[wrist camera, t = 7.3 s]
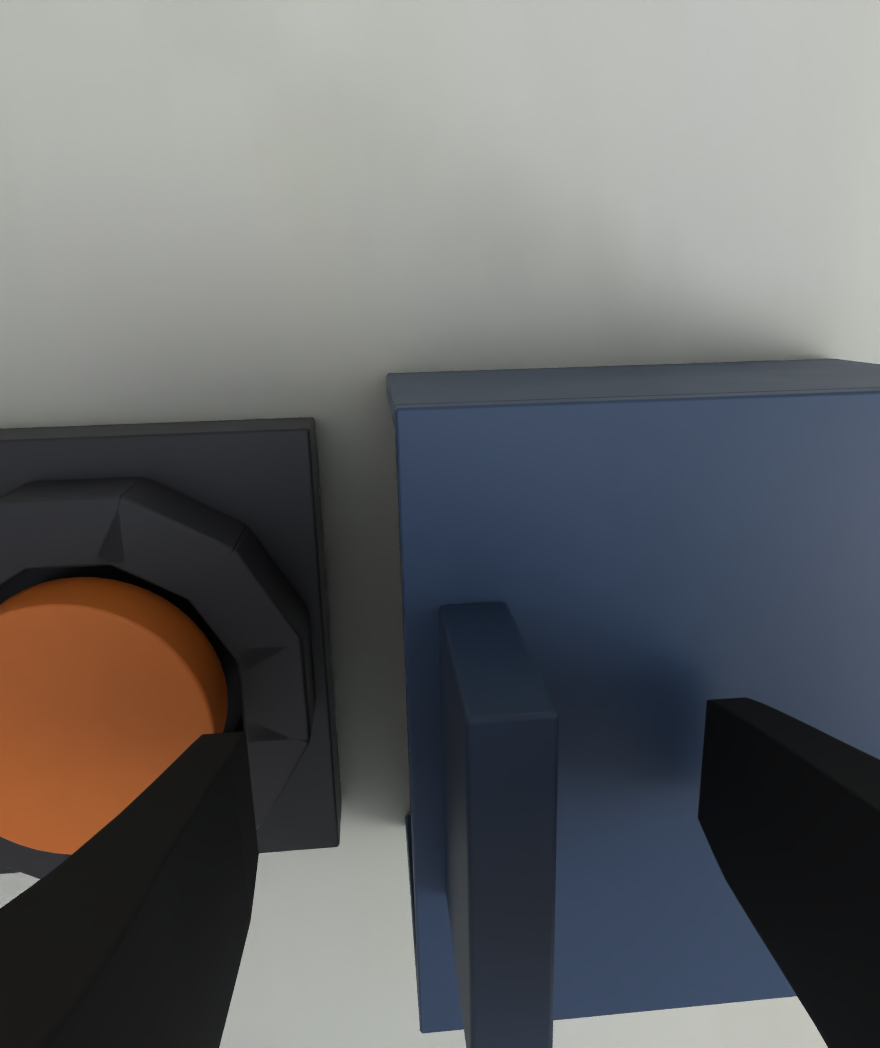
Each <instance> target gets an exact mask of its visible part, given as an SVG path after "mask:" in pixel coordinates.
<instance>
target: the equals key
mask: <svg viewBox="0 0 880 1048" xmlns="http://www.w3.org/2000/svg"><path fill="white" fill-rule="evenodd" d="M227 709H228V693H227V685H226V680H225V675H224V672H223V669H222V666H221V663H220V660H219V658H218V656H217V654H216V652H215V650H214V648H213V646H212V645H211V643H210V642H209V640H208V639H207V637H206V636H205V634H204V633H203V632H202V630H201V629H200V628H199V627H198V626H197V625H196V624H195V623H194V622H193V620H192V619H191V618H189V617H188V616H187V615H186V614H185V613H184V612H183V611H181V610H180V609H179V608H178V607H176V606H175V605H173V604H172V603H170V602H169V601H167V600H166V599H164V598H163V597H161V596H159V595H157V594H155V593H153V592H151V591H149V590H146V589H144V588H141V587H138V586H136V585H133V584H130V583H126V582H122V581H118V580H114V579H106V578H98V577H72V578H63V579H56V580H52V581H48V582H44V583H40V584H38V585H35V586H32V587H30V588H27V589H24V590H23V591H21V592H19V593H17V594H15V595H13V596H12V597H10V598H8V599H7V600H6V601H4V602H3V603H2V604H0V837H2V838H5V839H7V840H9V841H12V842H14V843H16V844H19V845H22V846H26V847H29V848H32V849H36V850H40V851H46V852H51V853H58V854H71V855H72V854H73V853H74V852H75V851H77V850H78V849H79V848H80V847H81V846H82V845H84V844H85V843H86V842H87V841H88V840H89V839H91V838H92V837H93V836H94V835H95V834H96V833H98V832H99V831H100V830H101V829H102V828H103V827H105V826H106V825H107V824H108V823H109V822H110V821H112V820H113V819H114V818H115V817H116V816H117V815H119V814H120V813H121V812H122V811H123V810H124V809H125V808H126V807H127V806H128V805H129V804H130V803H131V802H132V801H134V800H135V799H136V798H137V797H138V796H139V795H140V794H141V793H142V792H143V791H144V790H145V789H146V788H147V787H148V786H149V785H150V784H151V783H153V782H154V781H155V780H156V779H157V778H158V777H159V776H160V775H161V774H162V773H163V772H164V771H165V770H166V769H167V768H168V767H169V766H170V765H171V764H172V763H173V762H174V761H175V760H176V759H177V758H178V757H179V756H180V755H181V754H182V753H183V752H184V751H185V750H186V749H187V748H188V747H189V746H190V745H191V744H192V743H193V742H194V741H195V740H197V739H198V738H199V737H200V736H201V735H202V734H213V733H223V730H224V726H225V723H226V718H227Z"/></svg>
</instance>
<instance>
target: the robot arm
mask: <svg viewBox="0 0 880 1048" xmlns="http://www.w3.org/2000/svg"><path fill="white" fill-rule="evenodd" d="M698 820H699V822H700V825H701V827H702V829H703V832H704V834H705V836H706V839H707V841H708V843H709V845H710V848H711V850H712V852H713V855H714V857H715V859H716V861H717V863H718V865H719V867H720V869H721V872H722V874H723V876H724V878H725V880H726V882H727V883H728V885H729V887H730V888H731V890H732V892H733V893H734V895H735V897H736V898H737V900H738V902H739V903H740V905H741V907H742V908H743V910H744V911H745V913H746V915H747V916H748V918H749V920H750V921H751V923H752V925H753V926H754V928H755V929H756V931H757V933H758V934H759V936H760V937H761V939H762V941H763V942H764V944H765V945H766V947H767V949H768V950H769V952H770V953H771V955H772V957H773V958H774V960H775V961H776V963H777V965H778V966H779V968H780V969H781V971H782V973H783V974H784V976H785V977H786V979H787V981H788V982H789V984H790V985H791V987H792V989H793V990H794V992H795V993H796V995H797V997H798V998H799V1000H800V1001H801V1003H802V1005H803V1006H804V1008H805V1009H806V1011H807V1013H808V1014H809V1016H810V1017H811V1019H812V1021H813V1022H814V1024H815V1025H816V1027H817V1029H818V1031H819V1032H820V1034H821V1036H822V1038H823V1039H824V1041H825V1043H826V1045H827V1046H828V1048H880V759H878V758H875V757H873V756H871V755H869V754H867V753H865V752H863V751H861V750H859V749H857V748H855V747H853V746H851V745H849V744H847V743H845V742H842V741H840V740H838V739H836V738H834V737H832V736H830V735H828V734H826V733H824V732H822V731H820V730H818V729H816V728H814V727H812V726H810V725H808V724H806V723H804V722H802V721H800V720H798V719H796V718H794V717H792V716H789V715H787V714H785V713H783V712H781V711H779V710H777V709H775V708H772V707H770V706H768V705H765V704H763V703H761V702H758V701H755V700H753V699H750V698H747V697H742V698H727V699H713V700H707V704H706V717H705V730H704V743H703V755H702V768H701V781H700V794H699V807H698ZM258 855H259V851H258V842H257V833H256V823H255V814H254V804H253V795H252V785H251V776H250V766H249V757H248V747H247V738H246V731H242V732H227V733H213V734H202V735H201V736H200V737H199V738H198V739H197V740H195V741H194V742H193V743H192V744H191V745H190V746H189V747H188V748H187V749H186V750H185V751H184V752H183V753H182V754H181V755H180V756H179V757H178V758H177V759H176V760H175V761H174V762H173V763H172V764H171V765H170V766H169V767H168V768H167V769H166V770H165V771H164V772H163V773H162V774H161V775H160V776H159V777H158V778H157V779H156V780H155V781H154V782H153V783H151V784H150V785H149V786H148V787H147V788H146V789H145V790H144V791H143V792H142V793H141V794H140V795H139V796H138V797H137V798H136V799H135V800H134V801H132V802H131V803H130V804H129V805H128V806H127V807H126V808H125V809H124V810H123V811H122V812H121V813H120V814H119V815H117V816H116V817H115V818H114V819H113V820H112V821H110V822H109V823H108V824H107V825H106V826H105V827H103V828H102V829H101V830H100V831H99V832H98V833H96V834H95V835H94V836H93V837H92V838H91V839H89V840H88V841H87V842H86V843H85V844H84V845H82V846H81V847H80V848H79V849H78V850H77V851H75V852H74V853H73V854H72V855H71V856H70V857H68V858H67V859H66V860H65V861H64V862H62V863H61V864H60V865H59V866H57V867H56V868H55V869H53V870H52V871H51V872H50V873H48V874H47V875H46V876H44V877H43V878H42V879H40V880H39V881H38V882H37V883H35V884H34V885H33V886H31V887H30V888H28V889H27V890H26V891H24V892H23V893H21V894H20V895H19V896H17V897H16V898H14V899H13V900H12V901H10V902H9V903H7V904H6V905H5V906H3V907H2V908H0V1048H219V1046H220V1042H221V1038H222V1034H223V1030H224V1026H225V1022H226V1018H227V1014H228V1010H229V1006H230V1002H231V998H232V994H233V990H234V986H235V982H236V978H237V974H238V970H239V966H240V962H241V958H242V954H243V950H244V945H245V941H246V937H247V933H248V929H249V925H250V920H251V912H252V905H253V897H254V889H255V881H256V872H257V863H258Z"/></svg>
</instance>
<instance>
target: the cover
mask: <svg viewBox="0 0 880 1048" xmlns="http://www.w3.org/2000/svg"><path fill="white" fill-rule="evenodd" d="M386 382H387V394H388V399H389V404H390V408H391V413H392V418H393V423H394V427H395V437H396V462H397V486H398V511H399V535H400V560H401V584H402V609H403V633H404V658H405V682H406V707H407V731H408V756H409V780H410V805H411V814H410V815H406V817H405V822H406V838H407V852H408V866H409V881H410V895H411V909H412V923H413V937H414V951H415V965H416V979H417V993H418V1007H419V1021H420V1031H421V1033H431V1032H441V1031H451V1030H461V1029H464V1032H465V1040H466V1047H467V1048H552V1042H553V1020H561V1019H571V1018H581V1017H592V1016H602V1015H612V1014H622V1013H632V1012H642V1011H652V1010H662V1009H672V1008H682V1007H692V1006H702V1005H712V1004H722V1003H732V1002H742V1001H752V1000H762V999H772V998H782V997H792V996H797V995H796V993H795V992H794V990H793V989H792V987H791V985H790V984H789V982H788V981H787V979H786V977H785V976H784V974H783V973H782V971H781V969H780V968H779V966H778V965H777V963H776V961H775V960H774V958H773V957H772V955H771V953H770V952H769V950H768V949H767V947H766V945H765V944H764V942H763V941H762V939H761V937H760V936H759V934H758V933H757V931H756V929H755V928H754V926H753V925H752V923H751V921H750V920H749V918H748V916H747V915H746V913H745V911H744V910H743V908H742V907H741V905H740V903H739V902H738V900H737V898H736V897H735V895H734V893H733V892H732V890H731V888H730V887H729V885H728V883H727V882H726V880H725V878H724V876H723V874H722V872H721V869H720V867H719V865H718V863H717V861H716V859H715V857H714V855H713V852H712V850H711V848H710V845H709V843H708V841H707V839H706V836H705V834H704V832H703V829H702V827H701V825H700V822H699V820H698V807H699V794H700V781H701V768H702V755H703V743H704V730H705V717H706V704H707V700H713V699H727V698H742V697H747V698H750V699H753V700H755V701H758V702H761V703H763V704H765V705H768V706H770V707H772V708H775V709H777V710H779V711H781V712H783V713H785V714H787V715H789V716H792V717H794V718H796V719H798V720H800V721H802V722H804V723H806V724H808V725H810V726H812V727H814V728H816V729H818V730H820V731H822V732H824V733H826V734H828V735H830V736H832V737H834V738H836V739H838V740H840V741H842V742H845V743H847V744H849V745H851V746H853V747H855V748H857V749H859V750H861V751H863V752H865V753H867V754H869V755H871V756H873V757H875V758H878V759H880V364H872V363H863V362H855V361H847V360H838V359H813V360H783V361H752V362H722V363H691V364H661V365H630V366H600V367H569V368H539V369H508V370H478V371H447V372H417V373H388V374H387V375H386Z"/></svg>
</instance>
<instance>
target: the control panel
mask: <svg viewBox="0 0 880 1048" xmlns="http://www.w3.org/2000/svg"><path fill="white" fill-rule="evenodd" d="M72 577H98V578H106V579H114V580H118V581H122V582H126V583H130V584H133V585H136V586H138V587H141V588H144V589H146V590H149V591H151V592H153V593H155V594H157V595H159V596H161V597H163V598H164V599H166V600H167V601H169V602H170V603H172V604H173V605H175V606H176V607H178V608H179V609H180V610H181V611H183V612H184V613H185V614H186V615H187V616H188V617H189V618H191V619H192V620H193V622H194V623H195V624H196V625H197V626H198V627H199V628H200V629H201V630H202V632H203V633H204V634H205V636H206V637H207V639H208V640H209V642H210V643H211V645H212V646H213V648H214V650H215V652H216V654H217V656H218V658H219V660H220V663H221V666H222V669H223V672H224V675H225V680H226V685H227V693H228V709H227V718H226V723H225V726H224V730H223V733H227V732H242V731H246V738H247V747H248V757H249V766H250V776H251V785H252V795H253V804H254V814H255V823H256V833H257V842H258V851H259V853H266V852H279V851H291V850H304V849H316V848H329V847H337V846H339V841H340V823H341V789H340V775H339V760H338V746H337V732H336V717H335V703H334V688H333V674H332V660H331V645H330V631H329V616H328V602H327V588H326V573H325V559H324V544H323V530H322V515H321V501H320V487H319V472H318V458H317V443H316V429H315V420H314V418H312V417H309V418H282V419H255V420H228V421H201V422H174V423H147V424H120V425H93V426H66V427H39V428H12V429H0V604H2V603H3V602H4V601H6V600H7V599H8V598H10V597H12V596H13V595H15V594H17V593H19V592H21V591H23V590H24V589H27V588H30V587H32V586H35V585H38V584H40V583H44V582H48V581H52V580H56V579H63V578H72ZM70 856H71V854H58V853H51V852H46V851H40V850H36V849H32V848H29V847H26V846H22V845H19V844H16V843H14V842H12V841H9V840H7V839H5V838H2V837H0V874H5V873H17V872H22V873H25V874H27V875H30V876H33V877H36V878H39V879H42V878H43V877H44V876H46V875H47V874H48V873H50V872H51V871H52V870H53V869H55V868H56V867H57V866H59V865H60V864H61V863H62V862H64V861H65V860H66V859H67V858H68V857H70Z"/></svg>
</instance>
